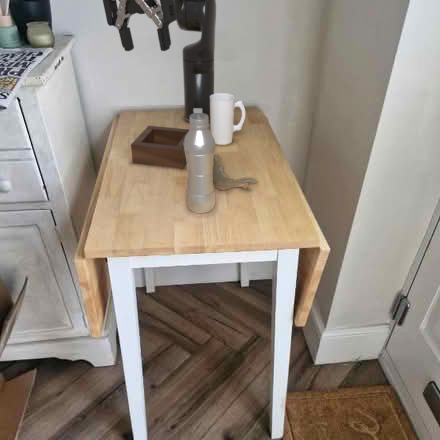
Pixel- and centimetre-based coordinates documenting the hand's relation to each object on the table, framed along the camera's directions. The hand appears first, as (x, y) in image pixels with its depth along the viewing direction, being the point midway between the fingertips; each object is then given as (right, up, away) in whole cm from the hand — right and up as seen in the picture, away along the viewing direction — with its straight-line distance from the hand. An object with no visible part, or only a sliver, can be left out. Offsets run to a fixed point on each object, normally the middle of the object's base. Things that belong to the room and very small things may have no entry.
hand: (147, 50), depth 83 cm
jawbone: (+17, -17, +25) cm, 35 cm away
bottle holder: (-1, -10, +32) cm, 34 cm away
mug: (+16, -3, +41) cm, 44 cm away
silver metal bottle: (+10, -29, +12) cm, 32 cm away
